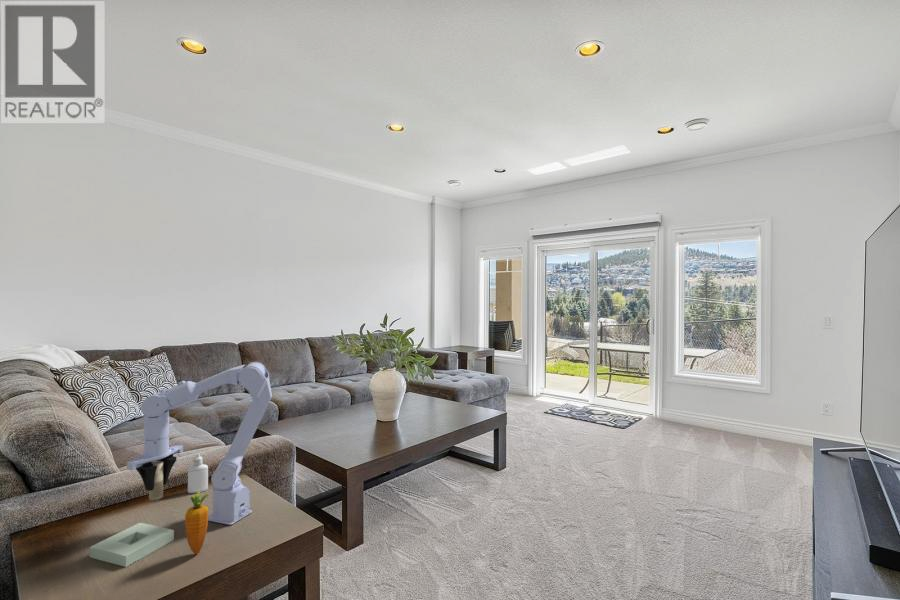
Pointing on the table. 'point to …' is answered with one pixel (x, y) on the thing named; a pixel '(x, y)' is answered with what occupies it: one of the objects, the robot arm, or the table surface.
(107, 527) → the table surface
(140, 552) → the hole block
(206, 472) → the eye dropper bottle
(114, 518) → the table surface
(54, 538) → the table surface
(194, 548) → the carrot
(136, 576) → the table surface
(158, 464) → the ash wood peg
